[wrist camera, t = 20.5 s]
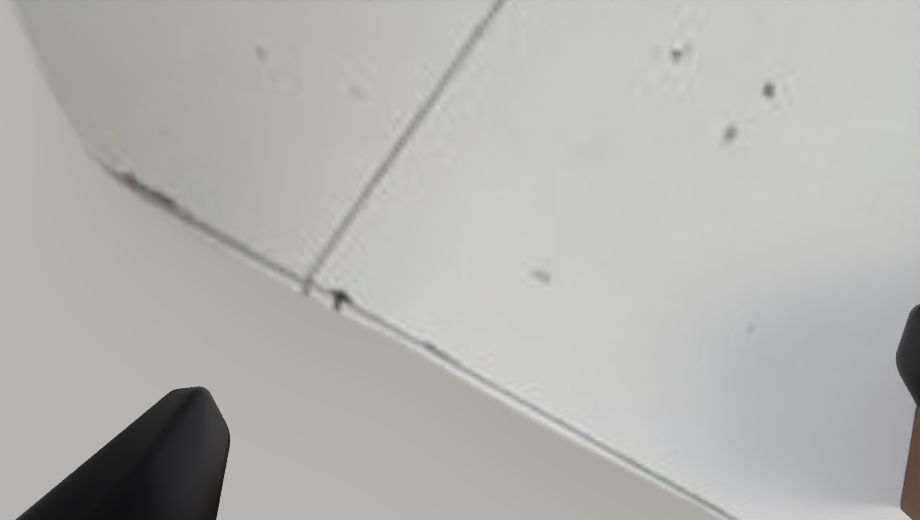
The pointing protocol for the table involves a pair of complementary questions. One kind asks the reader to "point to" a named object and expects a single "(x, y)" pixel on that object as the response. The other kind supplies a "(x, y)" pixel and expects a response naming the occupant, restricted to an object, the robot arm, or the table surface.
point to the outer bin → (913, 475)
